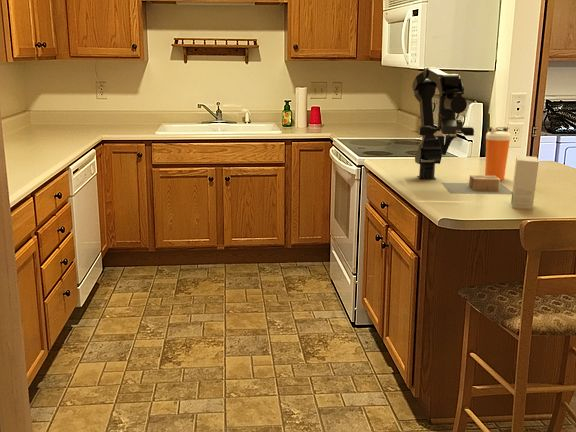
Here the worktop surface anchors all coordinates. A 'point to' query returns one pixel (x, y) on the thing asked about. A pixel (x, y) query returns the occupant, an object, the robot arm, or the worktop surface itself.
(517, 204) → the skincare box
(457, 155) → the worktop surface
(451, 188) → the mat
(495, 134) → the shaker bottle
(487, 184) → the block
